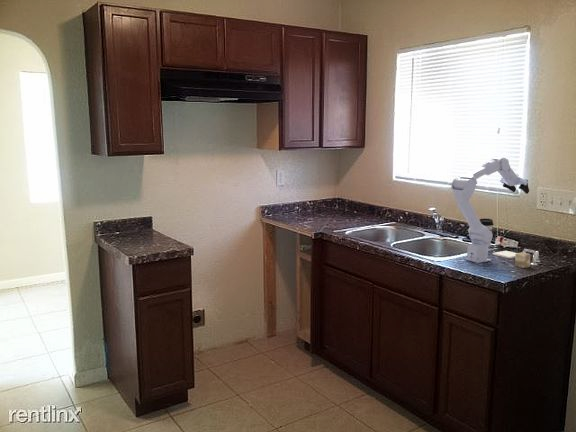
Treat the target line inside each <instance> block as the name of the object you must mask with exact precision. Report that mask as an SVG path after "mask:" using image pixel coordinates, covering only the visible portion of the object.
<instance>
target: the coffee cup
mask: <svg viewBox="0 0 576 432" xmlns="http://www.w3.org/2000/svg"><path fill="white" fill-rule="evenodd" d="M479 220H480V222H481V224H483V225H484V226H486V227H487V228H488V230H490V231H491V232H492V233H493V228H494V227H493V226H494V221H493V218H479ZM491 241H492V240H491ZM491 241H490V243H488V248H490V247H491Z"/></svg>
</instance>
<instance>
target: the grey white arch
mask: <svg viewBox="0 0 576 432" xmlns="http://www.w3.org/2000/svg"><path fill="white" fill-rule="evenodd" d="M522 252H523V253H532V254H533V256H532V262H530V266H538V263H541V260H539V256H540V255H539V250H533V249H527V248H523V250H522Z"/></svg>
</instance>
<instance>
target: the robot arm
mask: <svg viewBox="0 0 576 432" xmlns="http://www.w3.org/2000/svg"><path fill="white" fill-rule="evenodd" d="M496 172H498V174H499V175H500V176H501V178H500V180H499V182H500V183H501V184H502V187H503V188H506V189H507V190H510V191H511V192H512V193H515V192H516V191H517V187H516V186H518V190H519V189H520V190H521V191H523V192H524V193H525V194H526V195H527V194H529V193H530V187H529V180H528V179H523V178H522V177H520V176H519V174H518V173H515V171H514V170H513V169H512V168H511V165H510V161H509V159H508V158H506V157H498V156H497V157H496V156H495V157H492V158H491V160H490V161H489V160H488V161H486V162H485V163H483V164H482V165H481V168H478V169H476V170H472V171H470V172H467V173H464V174H462V175H459V176H458V177H455V178H454V179H453V180H452V184H451V187H450V189H451V191H452V193H453V194H454V195H453V196H454V201H455V203H456V205H457V207H458V209H459V210H460V213H461V214H462V216H463V217H464V220H465V221H466V223H467V225H468V227H469V228H468V229H467V232H468V236H469V238H470V241H471V243H470V244H468V246H467V249H466V250H467V251H466V253H467V254H466V258H465V260H467V261H470V262H474V263H477V264H479V263H486V262H491V261H492V259H490V258H488V256H489V255H488V253H489V247H488V243H490V241H492V240H493V231H492V232H491V231H490V230H488V228H487V227H486V226H484V225H483V224H481V222H480V220H479V219H480V218H479V216H478V214H477V213H476V211H475V210H474V208H473V205H472V204H471V202H470V199H472V197H473V194H474V192H475V190H476V188H477V184H478V179H479V178H481V177H482V176H483V177H484V175H485V176H490V175H492V174H494V173H496ZM490 244H491V243H490Z"/></svg>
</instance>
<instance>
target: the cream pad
mask: <svg viewBox="0 0 576 432" xmlns="http://www.w3.org/2000/svg"><path fill="white" fill-rule="evenodd" d="M516 253H517V252H513V251H508V250H502V251H501V250H500V251H496V252H492V255H493V256H497V257H501V258H506V259H515V254H516Z"/></svg>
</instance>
